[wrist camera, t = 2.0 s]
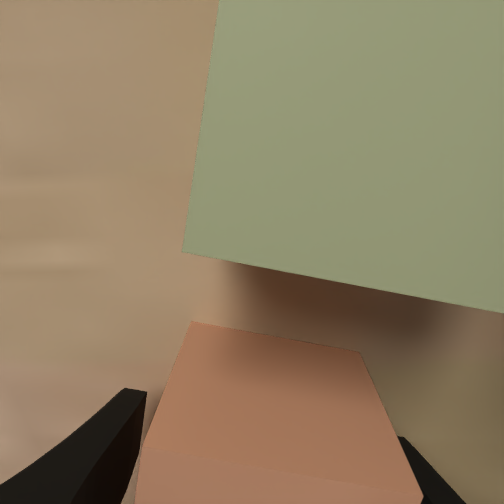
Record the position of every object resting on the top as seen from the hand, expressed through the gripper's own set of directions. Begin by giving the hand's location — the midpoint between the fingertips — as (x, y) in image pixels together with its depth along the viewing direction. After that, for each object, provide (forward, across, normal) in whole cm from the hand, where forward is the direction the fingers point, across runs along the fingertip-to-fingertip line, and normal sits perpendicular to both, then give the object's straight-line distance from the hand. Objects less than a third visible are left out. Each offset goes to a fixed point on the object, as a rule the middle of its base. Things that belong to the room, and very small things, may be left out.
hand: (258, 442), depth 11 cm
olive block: (+2, 0, -9) cm, 9 cm away
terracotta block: (+2, 0, 0) cm, 2 cm away
